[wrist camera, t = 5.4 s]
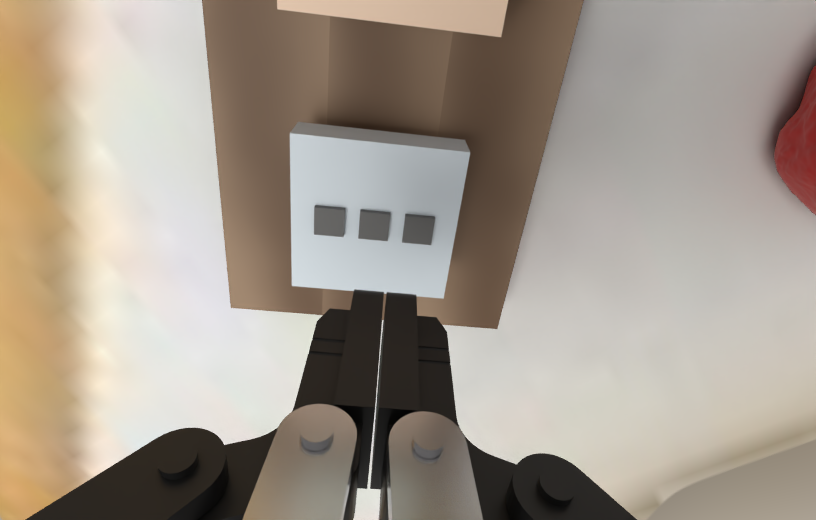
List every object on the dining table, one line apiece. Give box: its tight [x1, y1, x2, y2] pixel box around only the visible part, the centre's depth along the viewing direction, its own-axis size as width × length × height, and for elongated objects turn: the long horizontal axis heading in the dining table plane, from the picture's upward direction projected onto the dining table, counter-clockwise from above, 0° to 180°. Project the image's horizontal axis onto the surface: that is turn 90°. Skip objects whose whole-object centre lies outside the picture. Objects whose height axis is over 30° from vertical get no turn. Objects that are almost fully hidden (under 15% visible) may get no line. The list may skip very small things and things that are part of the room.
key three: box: [290, 122, 470, 299], centre depth 18 cm, size 6×6×4 cm
